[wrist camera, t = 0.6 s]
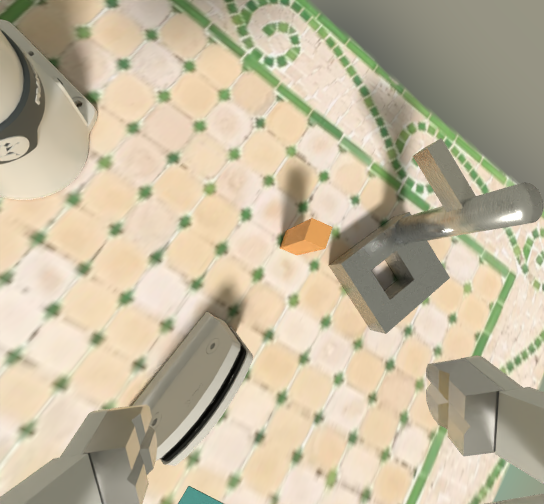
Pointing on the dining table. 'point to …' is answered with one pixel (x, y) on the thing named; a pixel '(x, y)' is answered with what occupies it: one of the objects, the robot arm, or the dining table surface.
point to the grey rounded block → (195, 387)
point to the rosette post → (417, 230)
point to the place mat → (196, 497)
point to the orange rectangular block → (306, 237)
